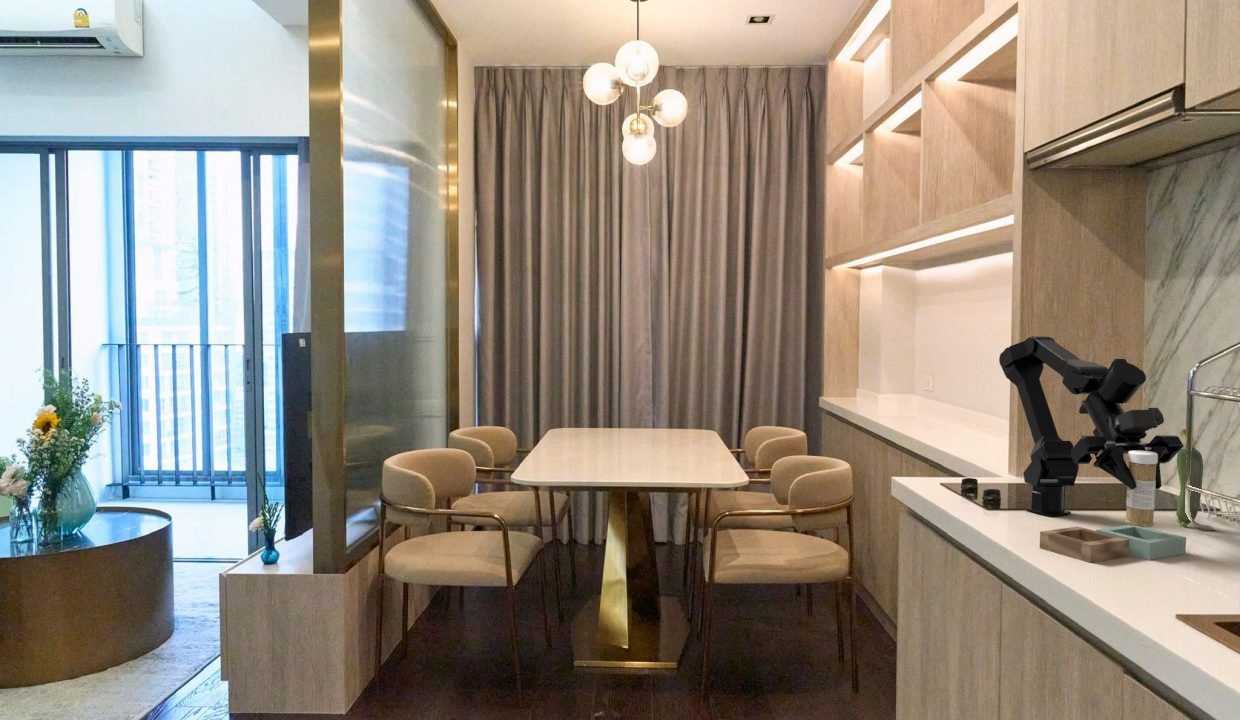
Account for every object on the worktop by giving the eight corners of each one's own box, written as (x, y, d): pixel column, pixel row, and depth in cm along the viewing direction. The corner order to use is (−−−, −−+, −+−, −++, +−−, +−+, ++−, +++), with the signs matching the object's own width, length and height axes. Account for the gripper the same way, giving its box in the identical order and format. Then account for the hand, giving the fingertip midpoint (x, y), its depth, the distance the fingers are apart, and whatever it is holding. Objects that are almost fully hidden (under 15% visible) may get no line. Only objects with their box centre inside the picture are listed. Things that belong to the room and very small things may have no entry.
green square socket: (1131, 540, 158) (1131, 524, 158) (1185, 553, 149) (1186, 537, 149) (1095, 545, 154) (1096, 529, 154) (1149, 560, 145) (1149, 543, 145)
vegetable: (1199, 526, 169) (1203, 428, 168) (1201, 531, 165) (1205, 430, 164) (1173, 523, 171) (1177, 426, 170) (1174, 528, 168) (1178, 429, 167)
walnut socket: (1077, 542, 157) (1077, 526, 156) (1128, 556, 147) (1129, 539, 147) (1039, 547, 152) (1040, 531, 152) (1090, 562, 143) (1090, 545, 143)
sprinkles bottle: (1127, 520, 155) (1130, 448, 154) (1156, 524, 152) (1159, 451, 151) (1123, 525, 151) (1126, 451, 151) (1152, 529, 149) (1155, 454, 148)
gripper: (1082, 392, 154) (1119, 462, 143) (1179, 392, 155) (1222, 462, 145) (1055, 428, 162) (1088, 497, 152) (1147, 428, 163) (1186, 496, 153)
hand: (1146, 488), depth 150 cm, fingers closed on sprinkles bottle, 4 cm apart
